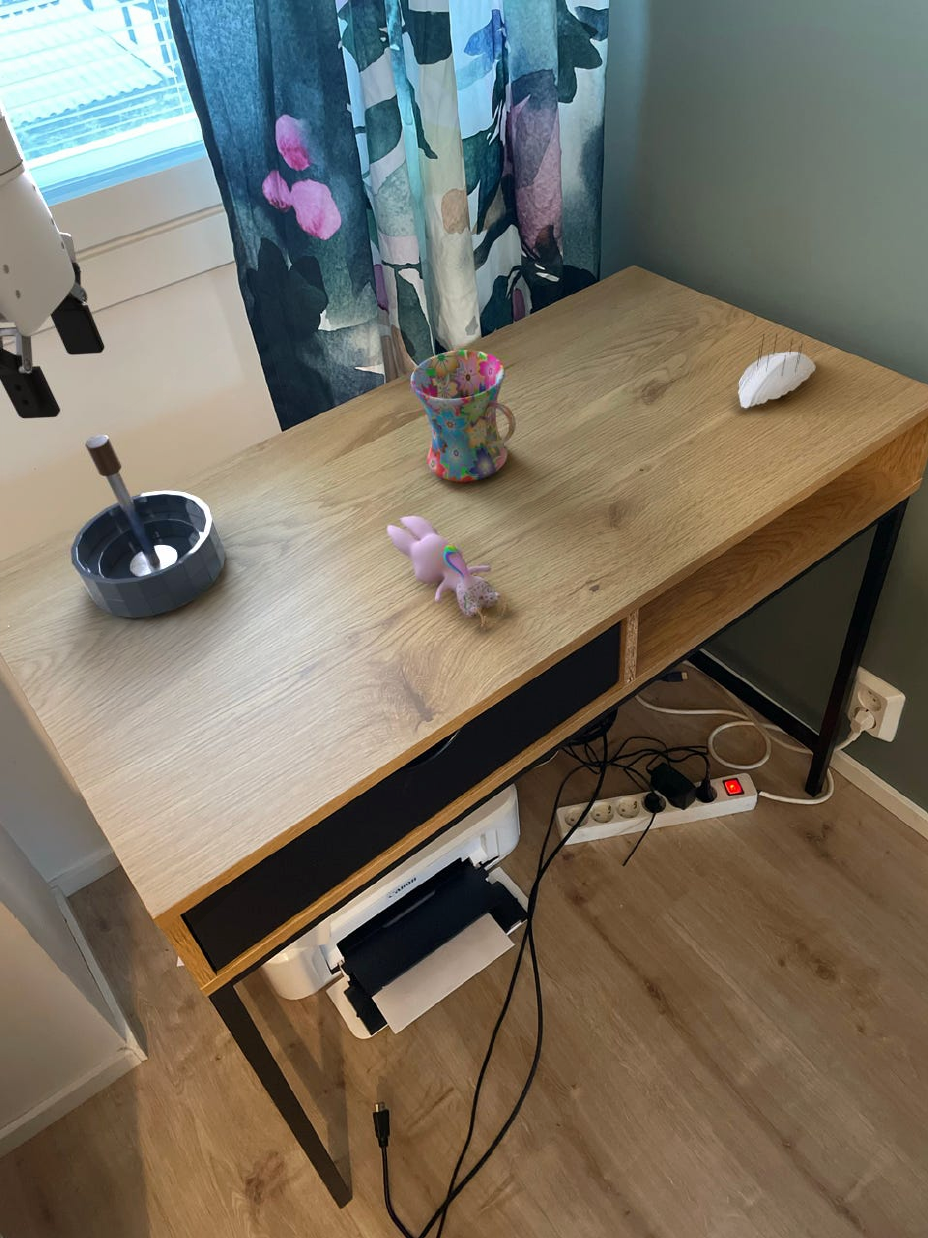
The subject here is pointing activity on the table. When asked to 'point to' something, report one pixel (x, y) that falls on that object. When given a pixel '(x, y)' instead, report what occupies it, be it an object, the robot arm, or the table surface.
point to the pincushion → (773, 376)
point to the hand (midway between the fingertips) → (65, 382)
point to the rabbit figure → (445, 567)
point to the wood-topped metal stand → (129, 510)
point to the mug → (463, 413)
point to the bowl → (113, 546)
